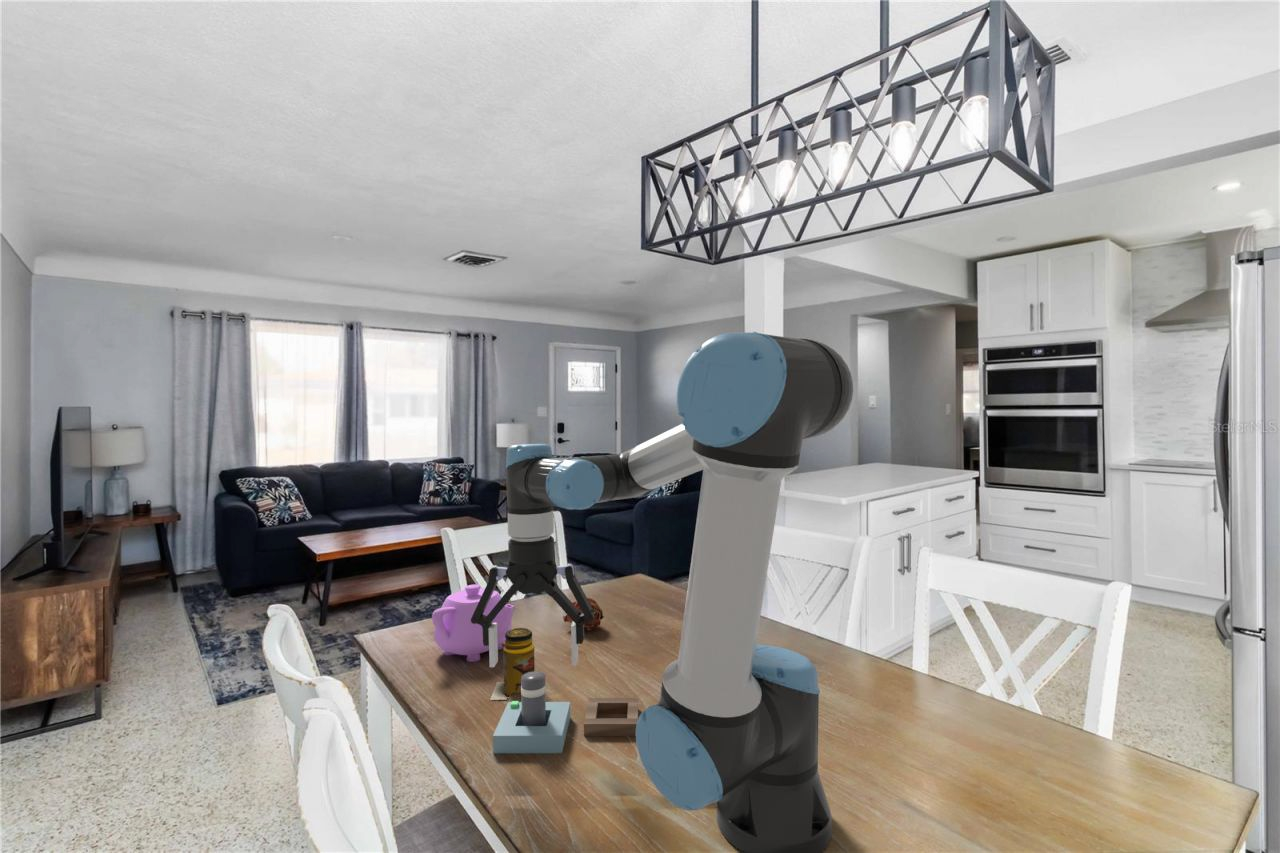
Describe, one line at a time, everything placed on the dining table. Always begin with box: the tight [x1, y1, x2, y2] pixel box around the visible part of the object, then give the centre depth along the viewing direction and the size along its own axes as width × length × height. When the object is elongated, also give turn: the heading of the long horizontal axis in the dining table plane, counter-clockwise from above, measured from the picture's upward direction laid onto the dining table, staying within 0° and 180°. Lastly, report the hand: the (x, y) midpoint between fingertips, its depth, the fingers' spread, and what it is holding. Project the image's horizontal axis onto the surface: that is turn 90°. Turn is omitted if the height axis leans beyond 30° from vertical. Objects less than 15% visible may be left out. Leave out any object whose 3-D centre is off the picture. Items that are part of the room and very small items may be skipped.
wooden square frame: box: [583, 697, 639, 737], centre depth 107 cm, size 9×9×3 cm
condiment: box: [489, 627, 536, 701], centre depth 121 cm, size 7×8×12 cm
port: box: [492, 700, 571, 754], centre depth 103 cm, size 11×11×5 cm
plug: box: [520, 671, 547, 726], centre depth 103 cm, size 4×4×10 cm
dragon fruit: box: [562, 597, 605, 631], centre depth 155 cm, size 8×8×12 cm
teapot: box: [431, 584, 516, 663], centre depth 139 cm, size 20×20×15 cm
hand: (534, 663), depth 102 cm, fingers open, 13 cm apart
